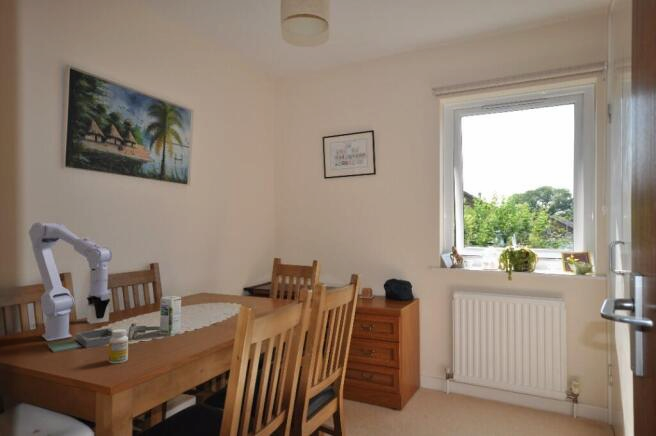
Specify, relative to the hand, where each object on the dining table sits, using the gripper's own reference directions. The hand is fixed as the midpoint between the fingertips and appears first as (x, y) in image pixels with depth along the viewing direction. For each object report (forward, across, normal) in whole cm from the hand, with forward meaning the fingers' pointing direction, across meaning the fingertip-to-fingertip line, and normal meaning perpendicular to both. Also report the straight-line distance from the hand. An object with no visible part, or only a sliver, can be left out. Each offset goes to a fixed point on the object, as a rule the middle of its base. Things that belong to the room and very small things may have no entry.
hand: (97, 317), depth 151 cm
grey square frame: (+9, 0, 0) cm, 9 cm away
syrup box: (+9, -7, -24) cm, 27 cm away
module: (+2, 0, 0) cm, 2 cm away
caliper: (+9, -3, -18) cm, 21 cm away
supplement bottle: (+9, -28, +2) cm, 29 cm away
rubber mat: (+9, 0, +11) cm, 14 cm away
